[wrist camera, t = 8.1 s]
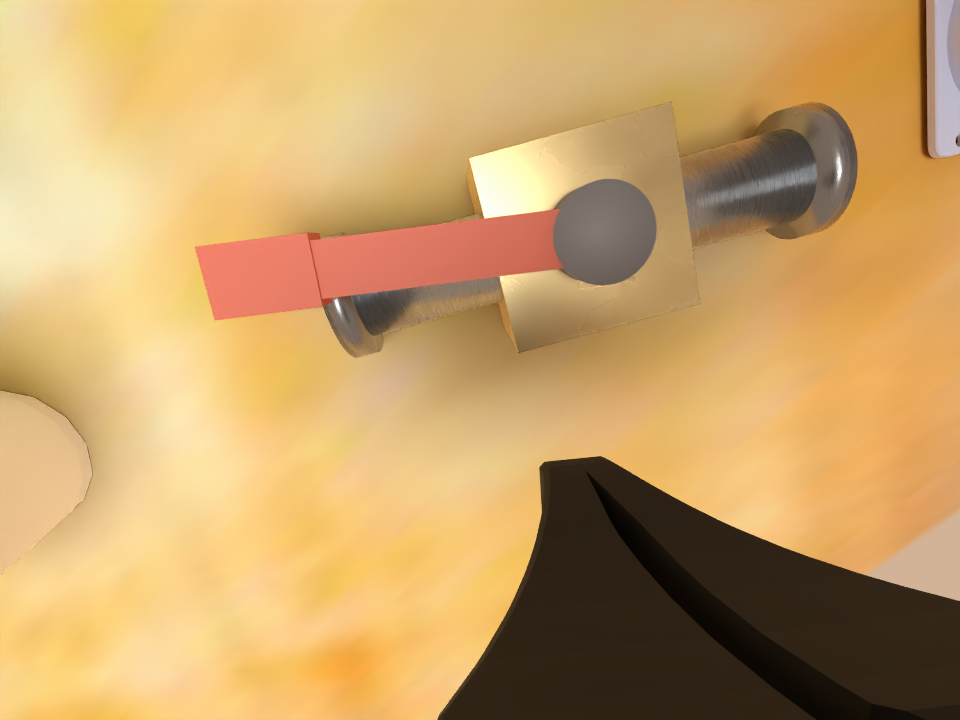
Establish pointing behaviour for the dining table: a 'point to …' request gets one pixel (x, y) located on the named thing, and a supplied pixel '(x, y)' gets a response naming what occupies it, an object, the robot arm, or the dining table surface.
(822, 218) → the valve body
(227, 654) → the dining table surface
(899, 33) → the dining table surface
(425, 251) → the lever
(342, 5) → the dining table surface
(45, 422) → the foam cup
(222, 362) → the dining table surface
